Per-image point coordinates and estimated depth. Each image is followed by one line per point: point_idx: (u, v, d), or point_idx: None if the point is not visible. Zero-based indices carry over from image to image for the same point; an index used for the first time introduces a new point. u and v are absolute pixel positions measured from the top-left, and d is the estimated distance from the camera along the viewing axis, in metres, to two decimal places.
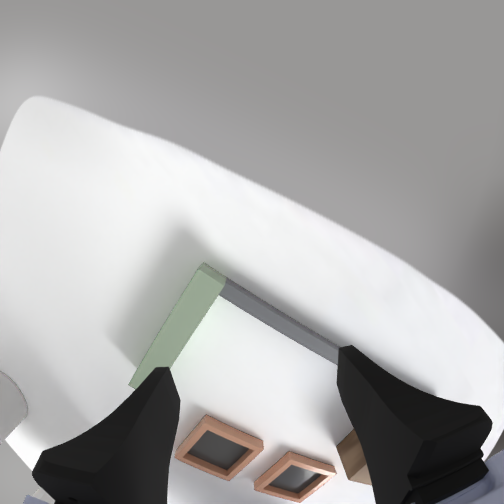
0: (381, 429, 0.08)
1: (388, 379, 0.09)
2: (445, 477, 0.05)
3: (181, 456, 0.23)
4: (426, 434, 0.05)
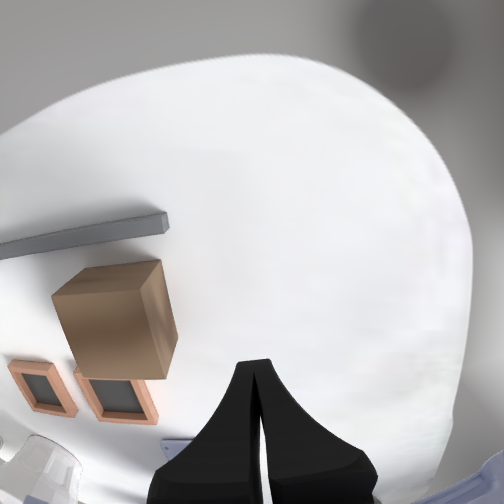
0: None
1: (283, 400, 0.09)
2: None
3: (33, 406, 0.23)
4: (278, 471, 0.05)
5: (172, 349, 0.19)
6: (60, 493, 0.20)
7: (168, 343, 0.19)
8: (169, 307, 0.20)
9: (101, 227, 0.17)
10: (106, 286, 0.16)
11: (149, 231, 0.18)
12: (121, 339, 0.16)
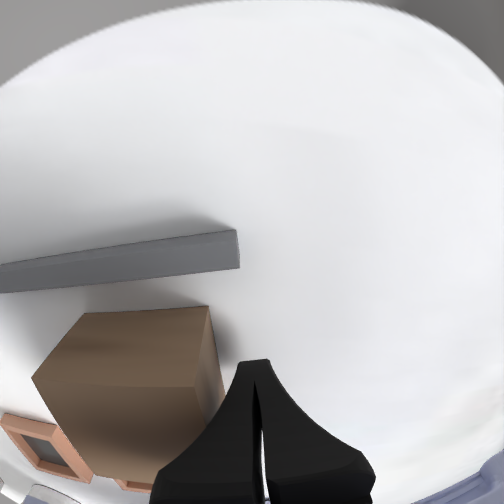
0: None
1: (281, 400, 0.09)
2: None
3: (36, 465, 0.16)
4: (275, 471, 0.05)
5: None
6: None
7: None
8: (219, 375, 0.13)
9: (123, 255, 0.10)
10: (124, 370, 0.09)
11: (213, 264, 0.10)
12: (157, 446, 0.09)
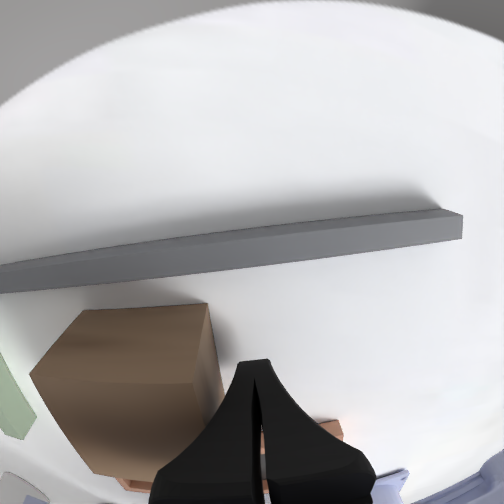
0: None
1: (282, 400, 0.09)
2: None
3: (128, 486, 0.16)
4: (276, 470, 0.05)
5: None
6: None
7: None
8: (218, 373, 0.13)
9: (381, 224, 0.10)
10: (122, 366, 0.09)
11: (447, 235, 0.11)
12: (155, 444, 0.09)
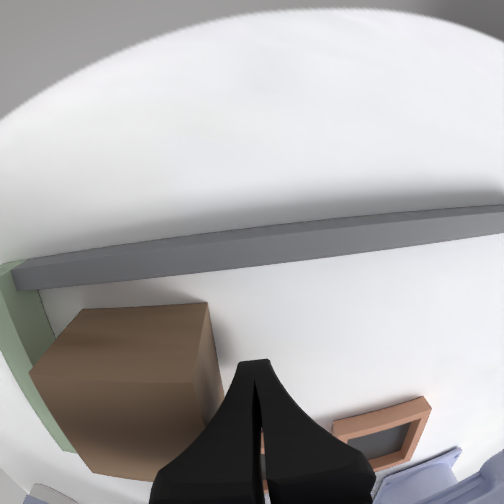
0: None
1: (281, 400, 0.09)
2: None
3: None
4: (275, 471, 0.05)
5: None
6: None
7: None
8: (217, 372, 0.13)
9: (488, 214, 0.10)
10: (122, 365, 0.08)
11: None
12: (154, 444, 0.09)
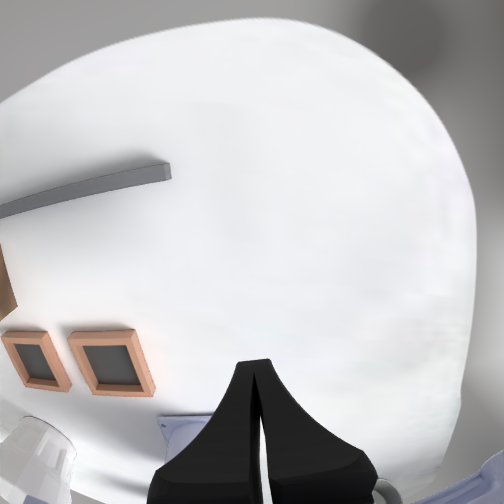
0: None
1: (283, 400, 0.09)
2: None
3: (26, 382, 0.22)
4: (277, 471, 0.05)
5: (4, 313, 0.19)
6: (51, 476, 0.20)
7: None
8: (6, 280, 0.20)
9: (103, 176, 0.17)
10: None
11: (151, 178, 0.17)
12: None
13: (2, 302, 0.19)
